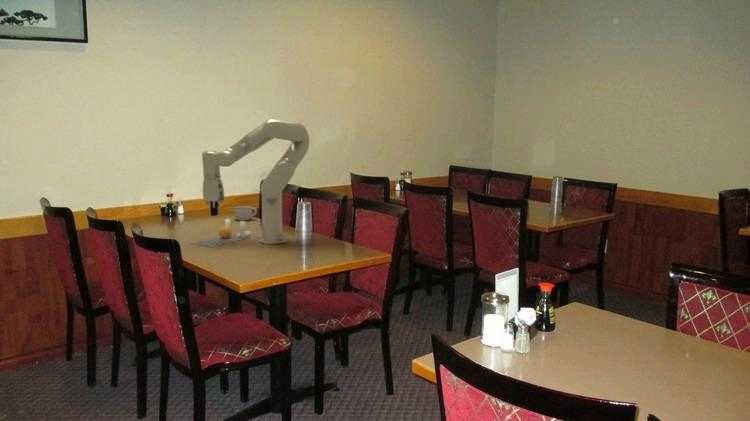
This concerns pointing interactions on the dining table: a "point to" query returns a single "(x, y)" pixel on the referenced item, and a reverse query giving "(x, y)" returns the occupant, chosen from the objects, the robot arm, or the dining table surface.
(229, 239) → the gray flat board
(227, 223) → the back pin right
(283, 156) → the robot arm
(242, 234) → the back pin left
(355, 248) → the dining table surface
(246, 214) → the teacup
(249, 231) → the front pin
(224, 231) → the ball
